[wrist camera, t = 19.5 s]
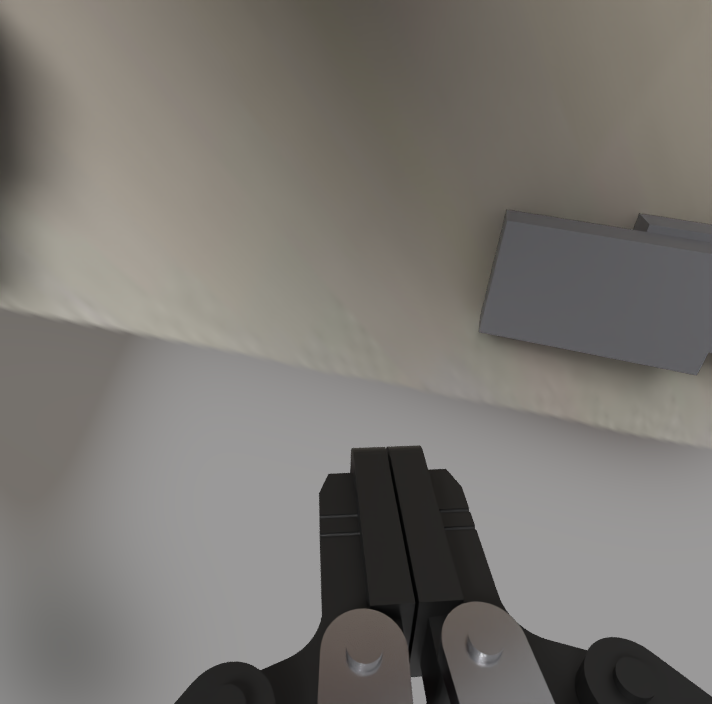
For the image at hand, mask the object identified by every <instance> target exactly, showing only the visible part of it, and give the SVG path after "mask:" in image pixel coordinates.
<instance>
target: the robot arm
mask: <svg viewBox="0 0 712 704" xmlns="http://www.w3.org/2000/svg"><path fill="white" fill-rule="evenodd" d="M319 506H320V507H319V508H320V510H319V513H320V561H321V562H320V563H321V599H322V618H321V622H320V625H319V628H318V630H317V632H316V634H315V635H314V637H313V638H312V640H311V641H310V642H309V643H308V644H307V645H306V646H305V647H304V648H303V649H302V650H301V651H299V652H298V653H297V654H295V655H293V656H291V657H289V658H288V659H285V660H283V661H281V662H278V663H276V664H274V665H272V666H269V667H268V668H265V669H262V670H259V669H257V668H256V667H254V666H252V665H250V664H247V663H243V662H227V663H222V664H219V665H216V666H214V667H212V668H210V669H209V670H207V671H205V672H204V673H203V674H201V675H200V676H199V677H198V678H197V679H196V680H195V681H194V682H193V683H192V684H191V685H190V686H189V687H188V688H187V690H186V691H185V692H184V693H183V694H182V695H181V696H180V698H179V699H178V700H177V701H176V702H175V703H174V704H413V696H412V686H411V677H418V676H422V679H423V684H424V690H425V695H426V701H427V703H426V704H712V697H711V696H710V695H709V694H707V693H706V692H705V691H703V690H702V689H701V688H699V687H698V686H697V685H695V684H694V683H693V682H691V681H690V680H688V679H687V678H686V677H684V676H683V675H682V674H680V673H679V672H678V671H676V670H675V669H674V668H672V667H671V666H669V665H668V664H667V663H666V662H664V661H663V660H661V659H660V658H659V657H657V656H656V655H654V654H653V653H652V652H651V651H649V650H647V649H646V648H645V647H643V646H641V645H639V644H637V643H635V642H633V641H630V640H627V639H622V638H617V637H609V638H603V639H600V640H598V641H596V642H595V643H593V645H591V647H590V648H589V649H588V650H584V649H580V648H576V647H573V646H569V645H565V644H561V643H558V642H554V641H550V640H547V639H544V638H541V637H539V636H537V635H534V634H532V633H531V632H529V631H527V630H526V629H524V628H523V627H522V626H521V625H519V624H518V623H517V622H516V621H515V620H514V619H513V618H512V617H511V616H510V615H509V613H508V612H507V611H506V609H505V608H504V606H503V604H502V603H501V600H500V598H499V595H498V593H497V590H496V587H495V584H494V581H493V578H492V575H491V572H490V569H489V566H488V563H487V560H486V557H485V554H484V551H483V548H482V545H481V542H480V540H479V537H478V533H477V531H476V530H475V525H474V522H473V519H472V516H471V513H470V512H469V507H468V504H467V501H466V498H465V495H464V492H463V489H462V487H461V485H459V483H458V482H457V481H456V480H455V479H454V478H453V476H452V475H451V474H450V473H449V472H448V471H447V470H446V469H435V470H428V468H427V465H426V461H425V457H424V453H423V450H422V448H421V446H397V447H387V448H385V447H372V448H352V449H351V469H350V473H339V474H328V476H327V478H326V481H325V482H324V484H323V487H322V489H321V491H320V493H319Z"/></svg>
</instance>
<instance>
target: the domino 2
mask: <svg viewBox="0 0 712 704" xmlns="http://www.w3.org/2000/svg"><path fill="white" fill-rule="evenodd" d="M633 230H637V231H643V232H650V233H656V234H662V235H668V236H674V237H681V238H687V239H693V240H699V241H706V242H712V225H711V224H704V223H698V222H691V221H685V220H679V219H672V218H666V217H660V216H653V215H647V214H640V213H639V216H638V218H637V221H636V223H635V226H634V229H633ZM709 353H712V347H711V349H710V351H709Z"/></svg>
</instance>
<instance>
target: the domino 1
mask: <svg viewBox="0 0 712 704" xmlns="http://www.w3.org/2000/svg"><path fill="white" fill-rule="evenodd" d="M479 332H481V333H486V334H491V335H496V336H501V337H506V338H511V339H517V340H522V341H527V342H532V343H537V344H542V345H547V346H552V347H557V348H562V349H567V350H572V351H577V352H582V353H587V354H592V355H597V356H602V357H607V358H612V359H617V360H622V361H627V362H632V363H637V364H642V365H647V366H652V367H657V368H662V369H667V370H672V371H677V372H682V373H687V374H693V375H697V374H698V372H699V370H700V368H701V366H702V364H703V362H704V361H705V359H706V357H707V355H708V353H709V351H710V349H711V347H712V242H706V241H699V240H693V239H687V238H681V237H674V236H668V235H662V234H656V233H650V232H643V231H637V230H631V229H625V228H618V227H612V226H606V225H600V224H594V223H587V222H581V221H575V220H569V219H562V218H556V217H550V216H544V215H538V214H531V213H525V212H519V211H513V210H506V214H505V218H504V222H503V226H502V230H501V234H500V238H499V242H498V246H497V250H496V254H495V258H494V262H493V266H492V271H491V275H490V279H489V283H488V287H487V291H486V295H485V299H484V303H483V307H482V311H481V315H480V326H479Z"/></svg>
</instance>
